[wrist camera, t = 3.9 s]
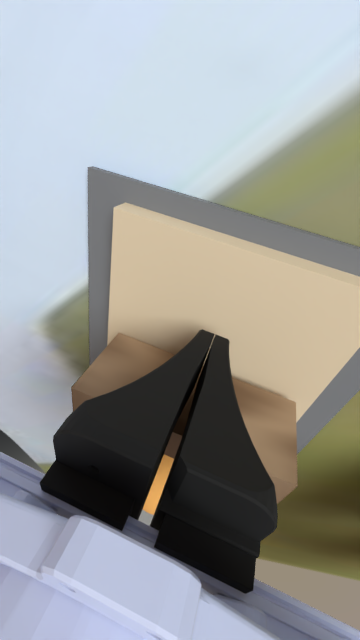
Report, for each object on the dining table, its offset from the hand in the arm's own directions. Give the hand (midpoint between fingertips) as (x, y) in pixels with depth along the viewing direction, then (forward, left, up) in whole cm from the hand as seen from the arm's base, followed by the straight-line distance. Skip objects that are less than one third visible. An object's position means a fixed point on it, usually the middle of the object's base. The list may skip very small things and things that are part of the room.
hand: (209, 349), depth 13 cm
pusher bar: (0, +3, -1) cm, 3 cm away
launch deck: (0, +12, -3) cm, 12 cm away
